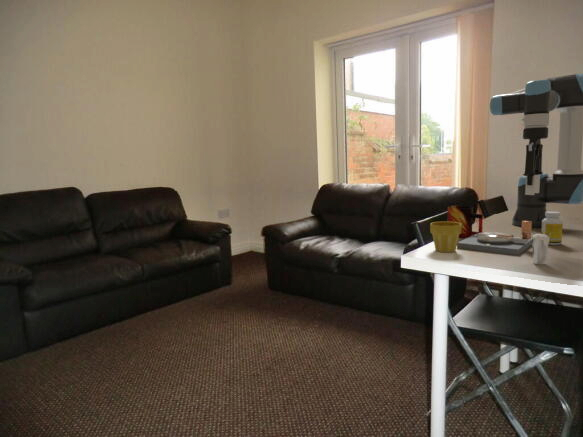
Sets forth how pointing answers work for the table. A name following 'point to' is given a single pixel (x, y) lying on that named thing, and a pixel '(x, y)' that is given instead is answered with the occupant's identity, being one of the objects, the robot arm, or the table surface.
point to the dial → (506, 235)
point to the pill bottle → (552, 227)
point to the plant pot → (445, 235)
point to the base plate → (493, 246)
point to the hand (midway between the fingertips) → (532, 193)
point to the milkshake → (540, 248)
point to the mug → (464, 219)
